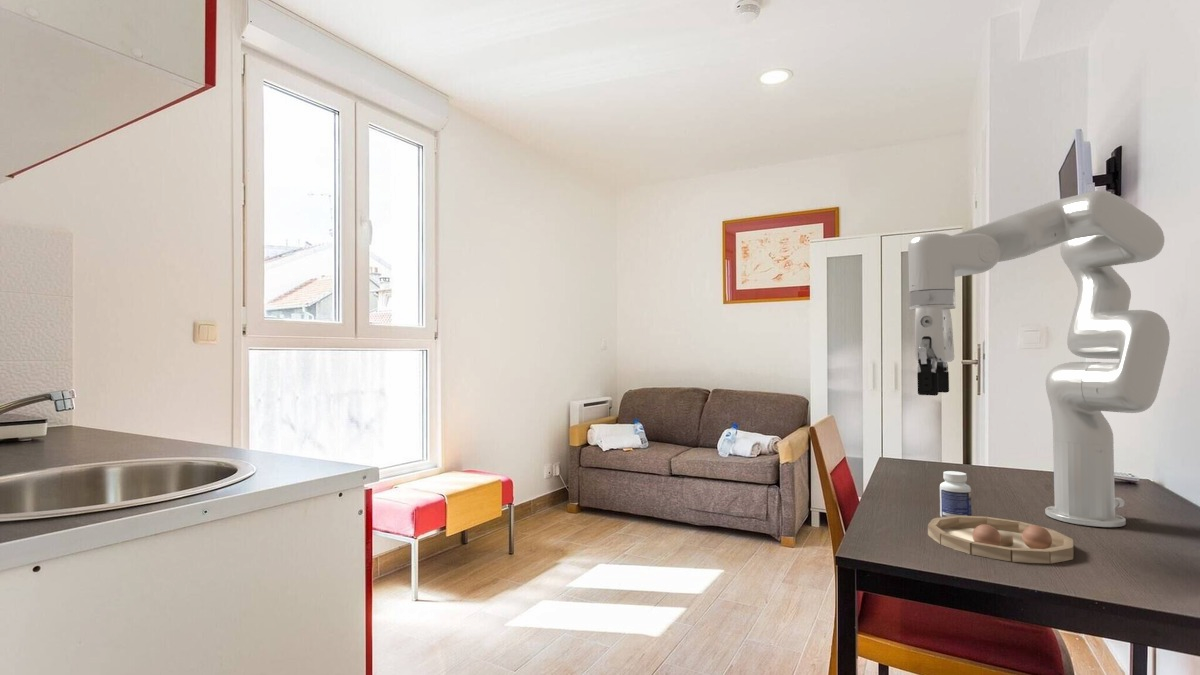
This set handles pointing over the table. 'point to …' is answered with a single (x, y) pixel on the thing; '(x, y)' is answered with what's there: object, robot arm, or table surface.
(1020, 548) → the groove tray
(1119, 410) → the robot arm
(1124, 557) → the table surface
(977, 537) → the brown egg
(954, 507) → the pill bottle
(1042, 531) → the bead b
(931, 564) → the table surface
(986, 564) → the table surface
